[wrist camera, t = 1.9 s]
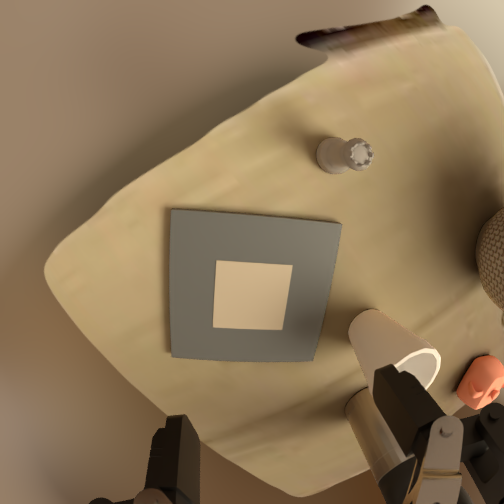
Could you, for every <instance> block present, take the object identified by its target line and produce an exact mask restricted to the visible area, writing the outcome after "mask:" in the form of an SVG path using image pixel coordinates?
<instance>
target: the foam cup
mask: <svg viewBox="0 0 504 504" xmlns="http://www.w3.org/2000/svg"><path fill="white" fill-rule="evenodd" d="M348 335H349V339H350V342H351V344H352V347H353V349H354V352H355V354H356V356H357V359H358V361H359V363H360V366H361V368H362V371H363V373H364V376H365V378H366V381H367V383H368V387H369V392H370V394H371V395H372V397H373V394H372V392H373V381H374V372H375V370H376V369H378V368H381V367H384V366H386V365H389V364H393V365H394V366H395V367H396V369H397V370H398V371H399V373H400V372H402V371H404V370H405V371H407V372H409V373H411V374H412V375H414V376H415V377H416V378H417V379H418V381H419V382H420V383H421V385H423V387H424V388H425V389H427V388H428V387H429V386H430V384H431V383H432V382H433V381H434V379H435V377H436V375H437V373H438V371H439V369H440V360H441V356H440V355H439V353H438V352H437V351H436V349H435V348H434V347H433V346H432V345H431V344H430V343H429V342H428V341H427V340H426V339H421V338H420V337H418V336H417V335H415V334H414V333H412V332H411V331H409V330H408V329H407V328H405V327H404V326H402V325H401V324H399V323H398V322H396V321H395V320H393V319H392V318H390V317H389V316H387V315H386V314H384V313H383V312H380V311H379V310H375V309H370V310H366V311H363V312H362V313H360V314H359V315H357V316H356V317H355V318H354V320H353V321H352V323H351V324H350V327H349V330H348Z"/></svg>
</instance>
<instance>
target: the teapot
mask: <svg viewBox="0 0 504 504" xmlns="http://www.w3.org/2000/svg"><path fill="white" fill-rule="evenodd" d="M501 387H502V388H504V367H503V365H502V364H501V362H500V361H499V360H498V359H497V358H496V357H494V356H491V355H487V356H482V357H478V358H476V359H475V360H474V361H473V362H472V364H471V366H470V367H469V369H468V370H467V372H466V374H465V375H464V377H463V379H462V381H461V382H460V384H459V386H458V388H457V391H456V392H457V395H458V397H459V398H460V400H462V401H463V402H464V403H465V404H466V405H468V406H470V407H471V408H473V409H475V410H476V409H479V408H482V407H484V406H486V405H487V404H490V403H491V402H492V400H494V399H495V398H496V397H497V396H498V394H499V390H500V389H501Z"/></svg>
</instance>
